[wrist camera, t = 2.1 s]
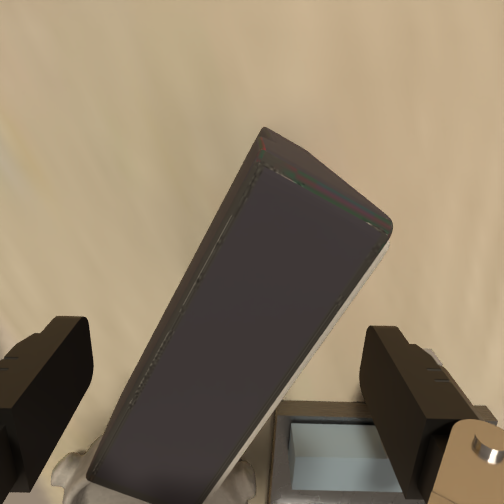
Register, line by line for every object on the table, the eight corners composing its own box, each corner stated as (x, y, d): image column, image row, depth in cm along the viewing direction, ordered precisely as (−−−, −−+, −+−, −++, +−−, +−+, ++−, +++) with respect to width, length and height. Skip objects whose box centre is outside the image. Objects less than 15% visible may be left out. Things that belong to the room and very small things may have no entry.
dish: (262, 418, 30) (264, 476, 25) (235, 537, 35) (232, 604, 30) (72, 394, 29) (38, 450, 24) (71, 519, 34) (43, 586, 29)
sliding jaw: (300, 327, 25) (338, 494, 14) (515, 334, 25) (708, 502, 14) (287, 454, 29) (310, 658, 18) (473, 459, 29) (602, 662, 18)
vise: (276, 400, 29) (280, 450, 25) (486, 405, 29) (525, 456, 25) (265, 538, 34) (267, 598, 30) (442, 541, 35) (468, 601, 31)
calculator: (231, 302, 26) (211, 534, 12) (173, 275, 25) (79, 487, 11) (318, 156, 23) (430, 241, 9) (253, 119, 22) (261, 146, 8)
